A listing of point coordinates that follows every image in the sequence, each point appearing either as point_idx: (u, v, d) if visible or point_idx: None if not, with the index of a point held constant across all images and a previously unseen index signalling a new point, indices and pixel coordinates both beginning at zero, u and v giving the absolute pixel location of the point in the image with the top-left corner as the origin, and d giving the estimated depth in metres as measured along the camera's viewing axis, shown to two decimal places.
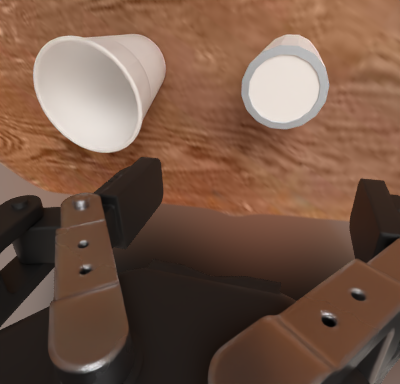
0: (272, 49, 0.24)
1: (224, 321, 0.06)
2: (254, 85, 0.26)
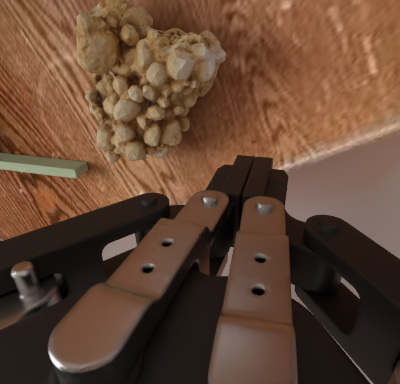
0: None
1: None
2: None
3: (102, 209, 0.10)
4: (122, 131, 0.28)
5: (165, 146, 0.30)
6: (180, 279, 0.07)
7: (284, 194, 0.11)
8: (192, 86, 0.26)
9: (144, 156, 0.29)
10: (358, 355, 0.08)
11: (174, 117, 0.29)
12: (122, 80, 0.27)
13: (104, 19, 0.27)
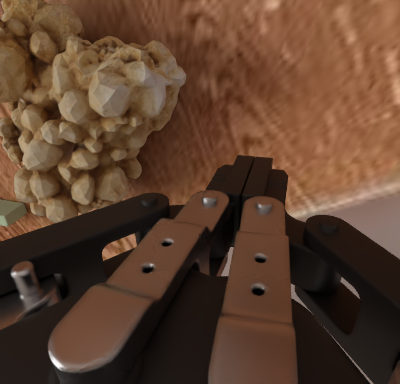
0: None
1: None
2: None
3: (102, 209, 0.10)
4: (37, 185, 0.19)
5: (104, 201, 0.21)
6: (180, 279, 0.07)
7: (284, 194, 0.11)
8: (132, 124, 0.17)
9: (74, 216, 0.21)
10: (358, 355, 0.08)
11: (116, 162, 0.21)
12: (34, 113, 0.19)
13: (4, 23, 0.18)
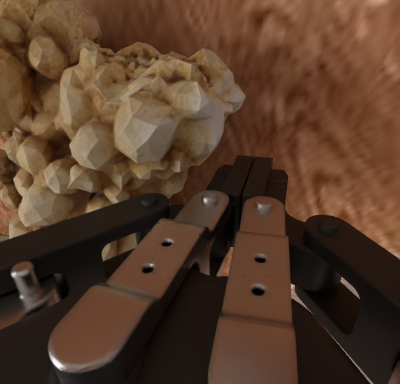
0: None
1: None
2: None
3: (102, 209, 0.10)
4: None
5: None
6: (180, 279, 0.07)
7: (284, 194, 0.11)
8: (174, 169, 0.12)
9: None
10: (358, 354, 0.08)
11: None
12: (34, 150, 0.13)
13: None
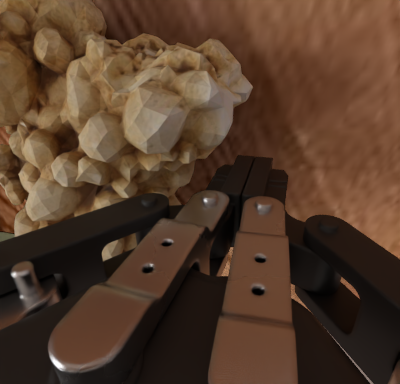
0: None
1: None
2: None
3: (102, 209, 0.10)
4: None
5: None
6: (180, 279, 0.07)
7: (284, 194, 0.11)
8: (183, 160, 0.12)
9: None
10: (358, 354, 0.08)
11: None
12: (41, 143, 0.13)
13: None
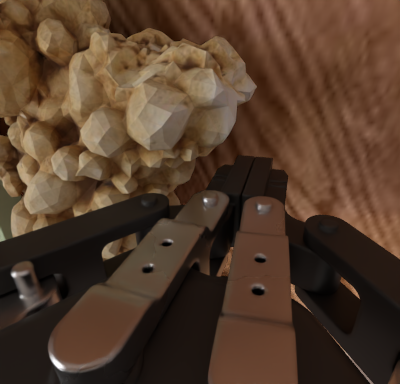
0: None
1: None
2: None
3: (102, 209, 0.10)
4: None
5: None
6: (180, 279, 0.07)
7: (284, 194, 0.11)
8: (185, 158, 0.12)
9: None
10: (358, 355, 0.08)
11: None
12: (41, 136, 0.13)
13: None
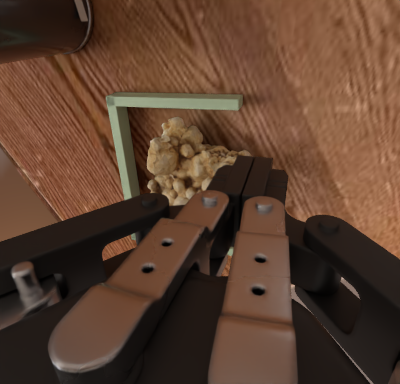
0: None
1: None
2: None
3: (102, 209, 0.10)
4: None
5: None
6: (180, 279, 0.07)
7: (284, 194, 0.11)
8: None
9: None
10: (358, 355, 0.08)
11: None
12: (181, 184, 0.37)
13: None
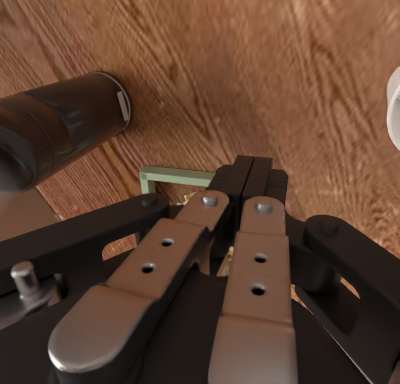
0: None
1: None
2: None
3: (102, 209, 0.10)
4: None
5: None
6: (180, 279, 0.07)
7: (284, 194, 0.11)
8: None
9: None
10: (358, 355, 0.08)
11: None
12: None
13: None
